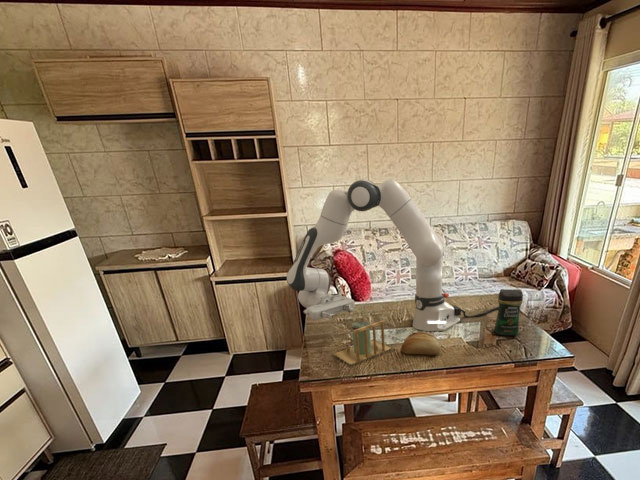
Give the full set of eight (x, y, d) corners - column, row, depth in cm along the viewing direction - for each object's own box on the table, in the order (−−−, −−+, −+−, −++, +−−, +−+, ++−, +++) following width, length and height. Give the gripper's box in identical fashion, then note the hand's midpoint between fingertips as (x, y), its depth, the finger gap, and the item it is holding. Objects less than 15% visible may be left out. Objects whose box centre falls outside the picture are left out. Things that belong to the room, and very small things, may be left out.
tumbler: (364, 345, 163) (362, 319, 157) (375, 350, 158) (373, 324, 153) (350, 350, 159) (347, 324, 154) (360, 356, 154) (358, 329, 149)
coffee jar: (495, 336, 168) (500, 292, 158) (493, 329, 174) (497, 286, 165) (519, 336, 166) (525, 292, 157) (516, 329, 173) (522, 286, 164)
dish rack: (373, 340, 168) (371, 310, 162) (392, 349, 160) (391, 318, 154) (332, 355, 157) (329, 324, 151) (350, 366, 149) (347, 333, 143)
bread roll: (401, 348, 161) (401, 329, 157) (439, 347, 160) (440, 328, 156) (401, 359, 153) (400, 339, 149) (441, 358, 152) (441, 339, 148)
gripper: (300, 303, 163) (318, 312, 154) (342, 292, 174) (361, 299, 165) (302, 318, 166) (320, 328, 157) (343, 306, 177) (362, 314, 168)
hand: (341, 313), depth 161 cm, fingers open, 8 cm apart
